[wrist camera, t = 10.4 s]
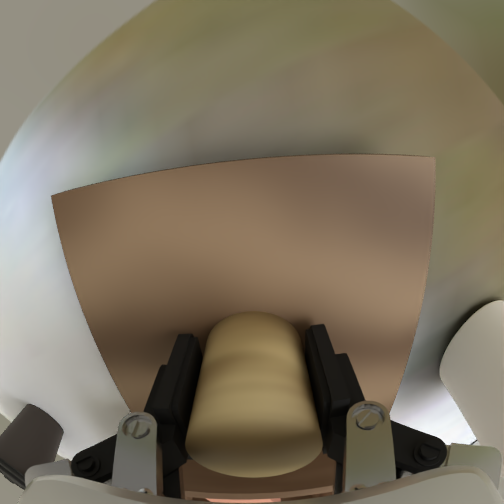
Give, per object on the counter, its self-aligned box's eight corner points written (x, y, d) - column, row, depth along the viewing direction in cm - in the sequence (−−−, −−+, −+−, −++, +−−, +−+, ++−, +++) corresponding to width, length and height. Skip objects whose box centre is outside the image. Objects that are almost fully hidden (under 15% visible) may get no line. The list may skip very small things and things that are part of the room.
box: (319, 473, 22) (327, 526, 15) (187, 477, 22) (179, 529, 16) (335, 395, 17) (357, 480, 11) (141, 402, 18) (114, 477, 11)
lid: (376, 400, 16) (408, 485, 9) (153, 415, 16) (128, 499, 9) (409, 154, 10) (535, 176, 4) (76, 187, 11) (-41, 232, 4)
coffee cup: (25, 419, 21) (-5, 471, 12) (10, 383, 19) (-31, 443, 9) (77, 449, 22) (52, 509, 13) (69, 420, 20) (34, 493, 10)
